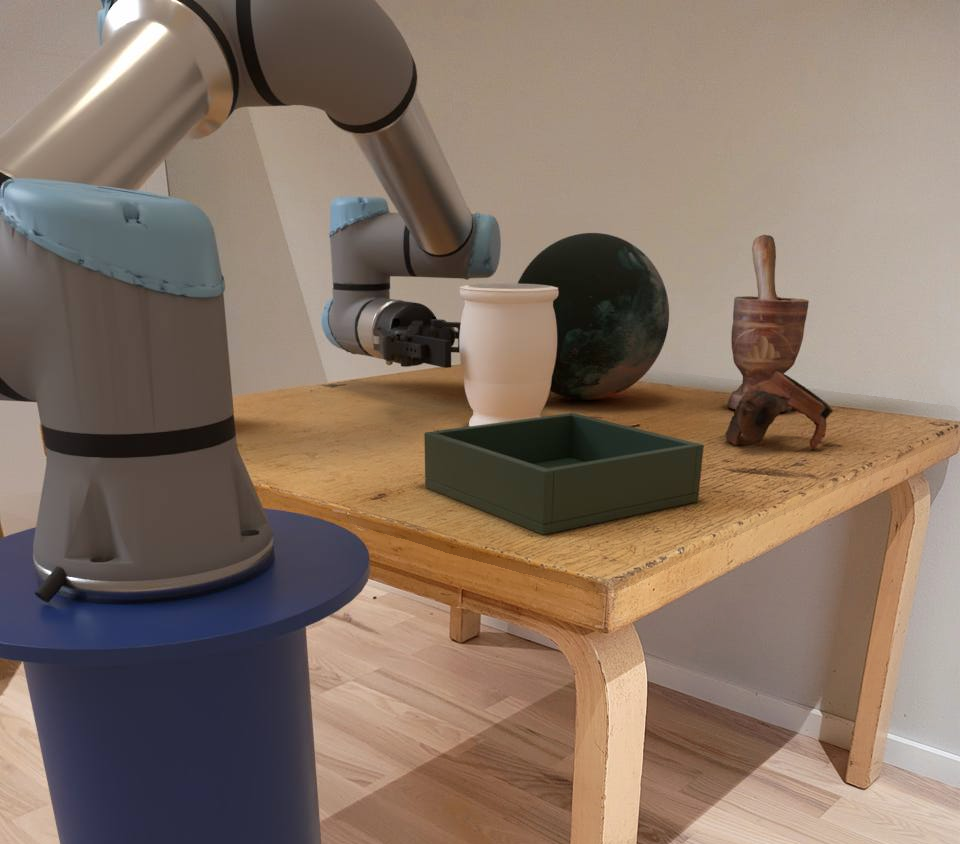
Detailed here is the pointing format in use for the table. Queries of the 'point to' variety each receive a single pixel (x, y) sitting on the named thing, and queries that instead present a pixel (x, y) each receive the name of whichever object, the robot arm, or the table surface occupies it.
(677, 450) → the bin
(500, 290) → the jar
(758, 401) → the brown arched piece
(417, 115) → the robot arm
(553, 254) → the decorative sphere
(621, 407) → the table surface
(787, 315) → the mortar and pestle
